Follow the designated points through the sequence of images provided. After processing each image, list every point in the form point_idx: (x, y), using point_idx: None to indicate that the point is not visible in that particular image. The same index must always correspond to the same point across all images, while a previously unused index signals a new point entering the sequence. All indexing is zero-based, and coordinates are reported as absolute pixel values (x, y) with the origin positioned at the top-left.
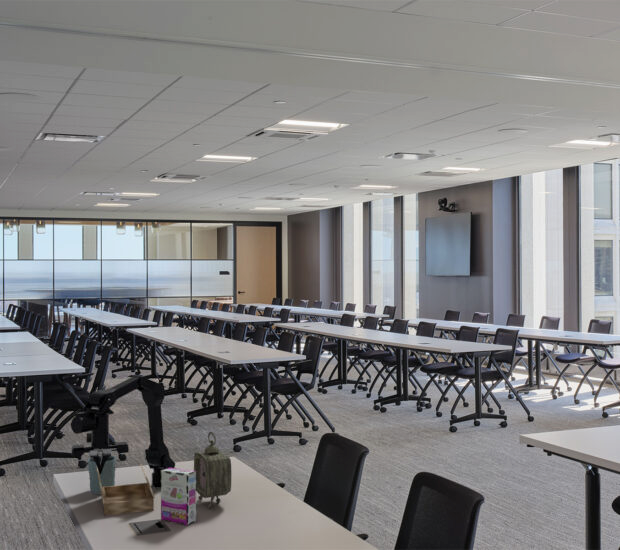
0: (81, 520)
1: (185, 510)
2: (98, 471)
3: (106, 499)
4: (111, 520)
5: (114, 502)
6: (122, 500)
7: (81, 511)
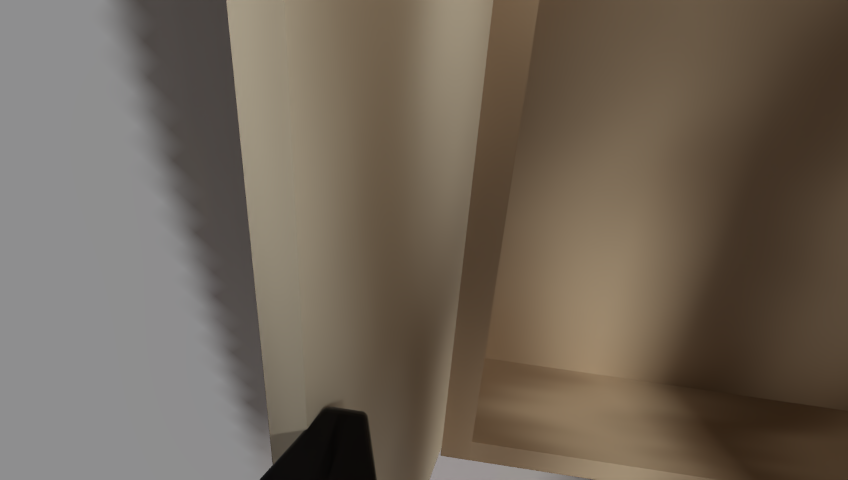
0: (237, 370)
1: None
2: (292, 377)
3: (485, 349)
4: (492, 467)
5: (553, 471)
6: (813, 22)
7: (215, 134)
